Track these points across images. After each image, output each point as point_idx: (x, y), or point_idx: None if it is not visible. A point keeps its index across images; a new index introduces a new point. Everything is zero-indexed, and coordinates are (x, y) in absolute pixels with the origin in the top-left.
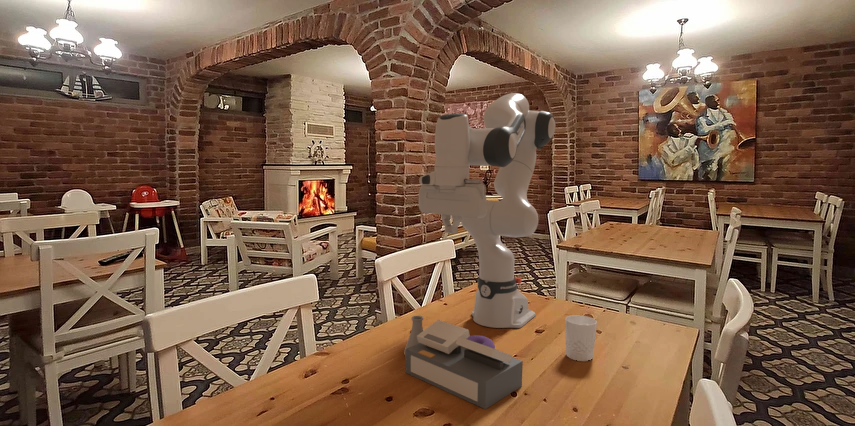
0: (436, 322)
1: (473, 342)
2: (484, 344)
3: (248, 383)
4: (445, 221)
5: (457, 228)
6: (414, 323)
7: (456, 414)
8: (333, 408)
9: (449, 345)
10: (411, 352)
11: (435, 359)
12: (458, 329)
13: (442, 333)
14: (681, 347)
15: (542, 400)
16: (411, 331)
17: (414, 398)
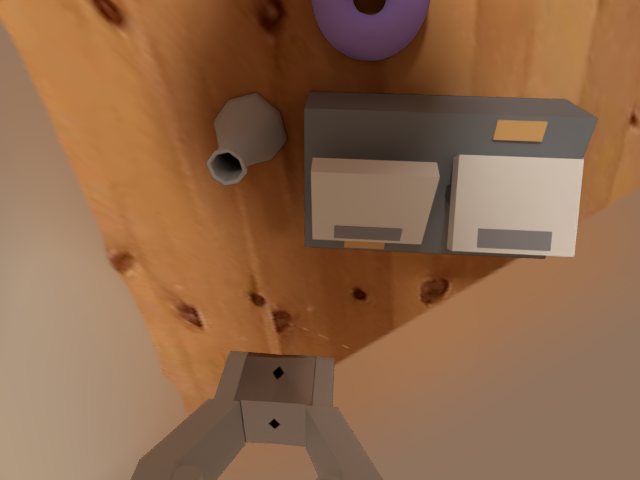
0: (317, 183)
1: (505, 253)
2: (409, 14)
3: (168, 375)
4: (211, 478)
5: (332, 389)
6: (233, 175)
7: (484, 266)
8: (317, 350)
9: (421, 238)
10: (324, 246)
11: (396, 246)
12: (407, 186)
13: (372, 212)
14: None
15: (628, 126)
16: (227, 163)
17: (393, 272)
